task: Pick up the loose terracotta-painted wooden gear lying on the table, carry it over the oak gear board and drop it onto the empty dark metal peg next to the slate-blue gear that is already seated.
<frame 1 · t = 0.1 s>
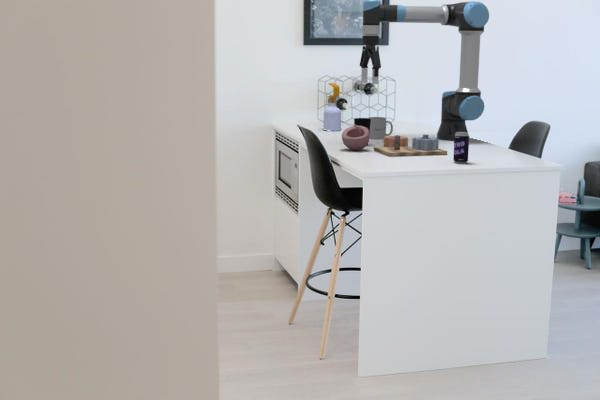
hand: (369, 83, 382), 28 cm above the table, fingers open, 13 cm apart
gear board: (410, 152, 363), on the table
mortar and pestle: (355, 150, 369), on the table
beverage can: (460, 163, 336), on the table
mug: (380, 138, 413), on the table
soap bottle: (332, 130, 445), on the table
loose gear: (395, 147, 380), on the table
cup: (361, 145, 387), on the table
seated gear: (425, 148, 364), resting on gear board
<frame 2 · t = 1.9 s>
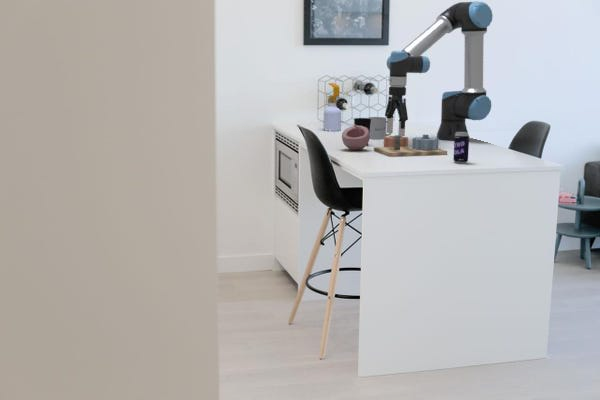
hand: (395, 134, 379), 6 cm above the table, fingers open, 13 cm apart
nothing on the table moved.
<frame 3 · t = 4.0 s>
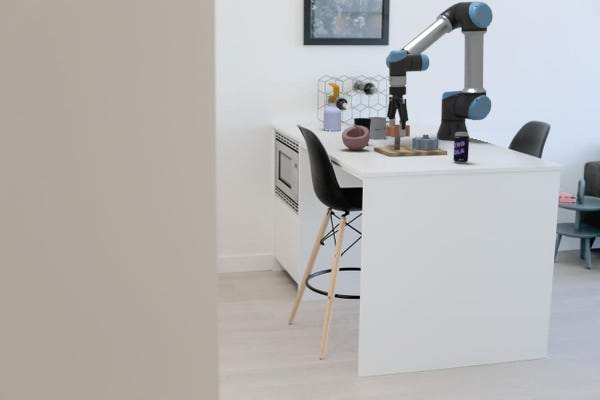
hand: (397, 135, 379), 5 cm above the table, fingers closed on loose gear, 11 cm apart
loose gear: (397, 135, 379), point 5 cm above the table, touching gripper
everything else where it was.
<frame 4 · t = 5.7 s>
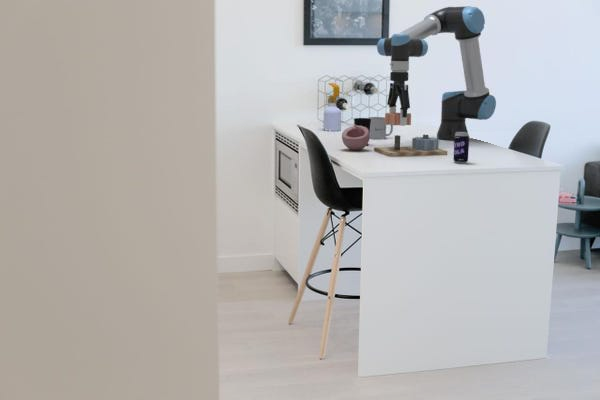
hand: (397, 123, 359), 13 cm above the table, fingers closed on loose gear, 11 cm apart
loose gear: (397, 124, 359), point 12 cm above the table, touching gripper
everything else where it was.
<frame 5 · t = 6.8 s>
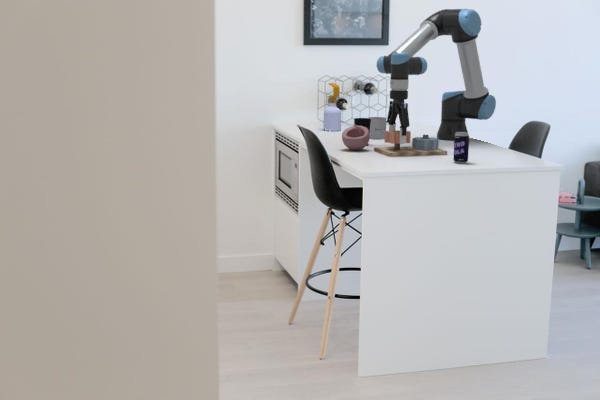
hand: (397, 141, 360), 5 cm above the table, fingers closed on loose gear, 11 cm apart
loose gear: (397, 142, 360), point 5 cm above the table, touching gripper
everything else where it was.
when the fingers open (3 cm above the table, at t = 7.7 s): loose gear drops 1 cm, resting on gear board.
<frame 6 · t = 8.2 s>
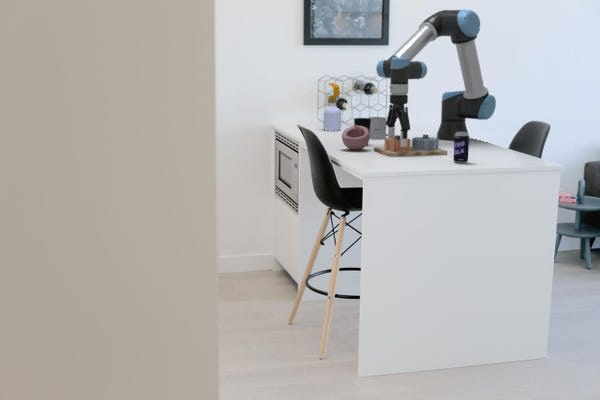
hand: (397, 144, 360), 4 cm above the table, fingers open, 13 cm apart
loose gear: (397, 149, 361), point 1 cm above the table, touching gear board
everything else where it was.
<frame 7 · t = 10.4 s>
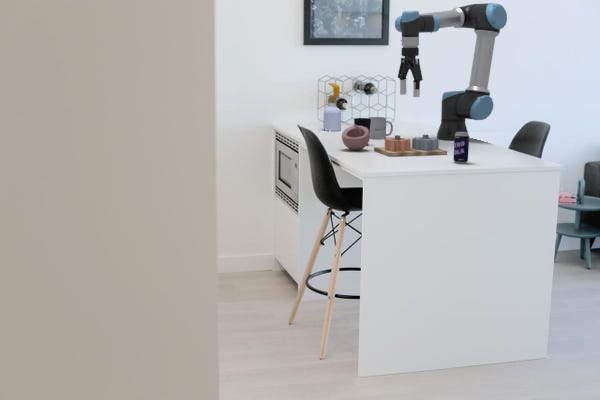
hand: (409, 95, 375), 23 cm above the table, fingers open, 13 cm apart
nothing on the table moved.
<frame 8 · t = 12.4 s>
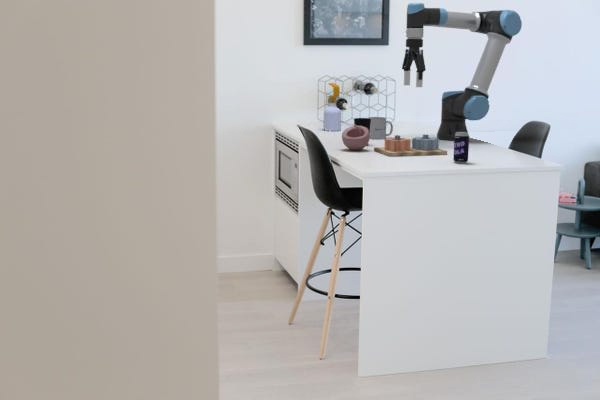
hand: (412, 86, 383), 27 cm above the table, fingers open, 13 cm apart
nothing on the table moved.
at the end: loose gear 0.1 cm from the target spot on the gear board, point 1.5 cm above the gear board's base; loose gear tilted 0°; the gripper is holding nothing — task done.
